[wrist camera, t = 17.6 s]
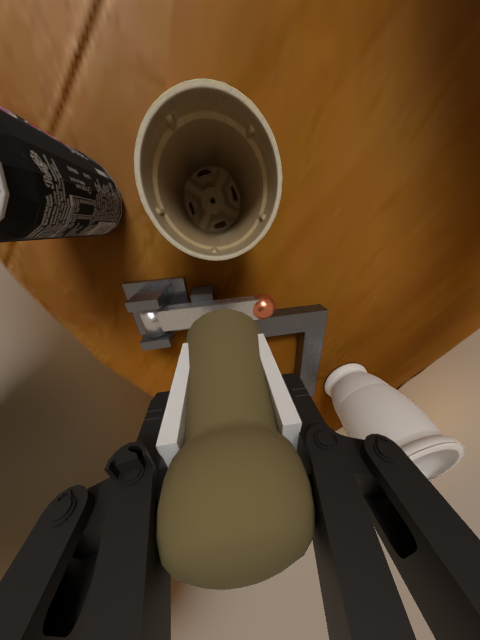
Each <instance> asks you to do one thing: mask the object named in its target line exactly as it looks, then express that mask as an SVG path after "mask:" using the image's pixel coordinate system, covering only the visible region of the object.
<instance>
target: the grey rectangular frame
mask: <svg viewBox="0 0 480 640" xmlns="http://www.w3.org/2000/svg"><path fill="white" fill-rule="evenodd" d="M327 315H328V310H327V309H326V308H325V307H323V306H322V305H320V304H317V305H309V306H301V307H293V308H285V309H277V310H275V311H274V313H273V314H272V316H270V317H269V318H267V319H258V320H254V321H255V322H256V323H257V324H258V326H259V328H260V331H261V334H264V337H270V336H278V335H285V334H292V333H298V339H297V350H296V361H295V372H294V373H295V374H296V375H297V376H298V377H299V378H300V379H301V380H302V382H303V383H304V385H305V387H306V389H307V391H308V393H309V395H310V396H311V397H313V396H314V392H315V386H316V380H317V374H318V368H319V362H320V356H321V350H322V345H323V339H324V333H325V327H326V321H327Z"/></svg>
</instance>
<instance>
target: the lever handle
mask: <svg viewBox="0 0 480 640" xmlns="http://www.w3.org/2000/svg"><path fill="white" fill-rule="evenodd" d="M220 309H232V310H236V311H241V312H243V313H245V314H246V315H248V316H250V317H252V319H253V320H258V319H267V318H269V317H270V316H272V314H273V313H274V311H275V303H274V300H273V299H272V298H271V297H270V296H269V295H267V294H258V295H254V296H245V297H236V298H227V299H219V300H210V301H201V302H192V303H184V304H175V305H166V306H161V308H160V309H155V310H146V311H138V313H139V316H140V319H141V321H142V324H143V327H144V330H145V333H146V335H147V337H149V338H156V337H160V336H162V335H164V334H166V333H167V332H168V331H172V330H180V329H188V328H190V327H191V325H192V324H193V322H194V321H196V320H197V319H198V318H199V317H201V316H202V315H203V314H206V313H208V312H211V311H214V310H220Z"/></svg>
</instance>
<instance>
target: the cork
mask: <svg viewBox="0 0 480 640" xmlns="http://www.w3.org/2000/svg"><path fill="white" fill-rule="evenodd" d="M258 334H261V331H260V328H259V326H258V324H257V323H256V322H255V321H254V320H253V319H252V317H250V316H248V315H246V314H245V313H243V312H241V311H236V310H232V309H220V310H214V311H211V312H208V313H206V314H203V315H202V316H201V317H199V318H198V319H197V320H196V321H194V322H193V324H192V325H191V327H190V329H189V330H188V332H187V337H186V343H188V350H189V367H190V369H189V379H188V389H187V402H186V420H185V438H184V445H183V446H182V448H181V449H180V450H179V451H178V452H177V454H176V455H175V456H174V457H173V458H172V461H171V463H170V465H169V468H168V470H167V473H166V475H165V478H164V481H163V486H162V490H161V495H160V500H159V504H158V509H157V514H156V542H157V547H158V552H159V556H160V560H161V564H162V566H163V567H164V568H165V569H166V570H167V571H168V572H169V573H170V575H171V576H173V578H174V579H175V580H176V581H178V582H182V583H186V584H190V585H193V586H197V587H201V588H206V589H223V590H224V589H234V588H240V587H245V586H249V585H253V584H256V583H259V582H262V581H264V580H267V579H269V578H271V577H273V576H274V575H277V574H278V573H280V572H282V571H283V570H285V569H286V568H287V567H289V566H290V565H291V564H293V563H294V562H295V561H297V560H298V559H300V558H301V557H302V556H304V554H305V552H306V550H307V549H308V547H309V545H310V543H311V541H312V539H313V537H314V534H315V517H316V510H315V504H314V499H313V491H312V487H311V484H310V481H309V479H308V476H307V474H306V471H305V468H304V466H303V463H302V460H301V458H300V456H299V455H298V453H297V451H296V450H295V448H294V446H293V445H292V443H291V442H290V441H289V440H288V439H287V438H286V437H284V436H283V435H282V434H281V433H280V432H278V428H277V423H276V419H275V414H274V410H273V406H272V401H271V397H270V393H269V389H268V385H267V381H266V378H265V374H264V370H263V366H262V362H261V359H260V351H259V341H258Z"/></svg>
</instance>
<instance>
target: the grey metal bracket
mask: <svg viewBox="0 0 480 640" xmlns="http://www.w3.org/2000/svg"><path fill="white" fill-rule="evenodd" d="M122 287H123V289H124V292H125V295H126V297H127V300H128V301H126V302H125V306H126V308H127V311H128V313H129V312H132V313H133V316H134V319H135V321H136V324H137V327H138V329H139V332H140V335H145V336H144V337H143V339H142V341H141V342H140V345H141V347H142V350H143V351H144V350H151V349H159V348H166V347H171V345H172V342H173V339H174V336H175V333H176V331H181V330H189V329H190V328H188V329H180V330H172V331H168V332H167V333H166V334H164V335H162V336H160V337H156V338H149V337H147V335H146V333H145V330H144V327H143V324H142V321H141V319H140V316H139V313H138V311H146V310H155V309H160V308H161V306H166V305H175V304H184V303H189V298H188V293H187V288H186V284H185V279H184V277H175V278H165V279H155V280H145V281H135V282H125V283H123V284H122Z"/></svg>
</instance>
